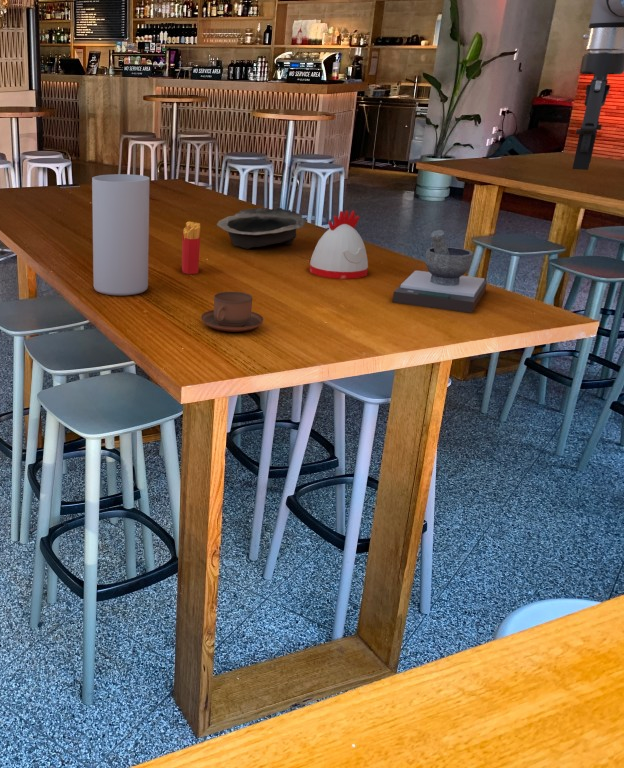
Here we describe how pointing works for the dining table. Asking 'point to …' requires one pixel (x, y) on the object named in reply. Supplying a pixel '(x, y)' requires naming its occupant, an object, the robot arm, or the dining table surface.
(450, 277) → the mortar and pestle
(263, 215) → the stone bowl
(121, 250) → the cylinder vase
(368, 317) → the dining table surface
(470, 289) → the kitchen scale
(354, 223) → the kitchen timer
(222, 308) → the cup and saucer
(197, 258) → the french fries
